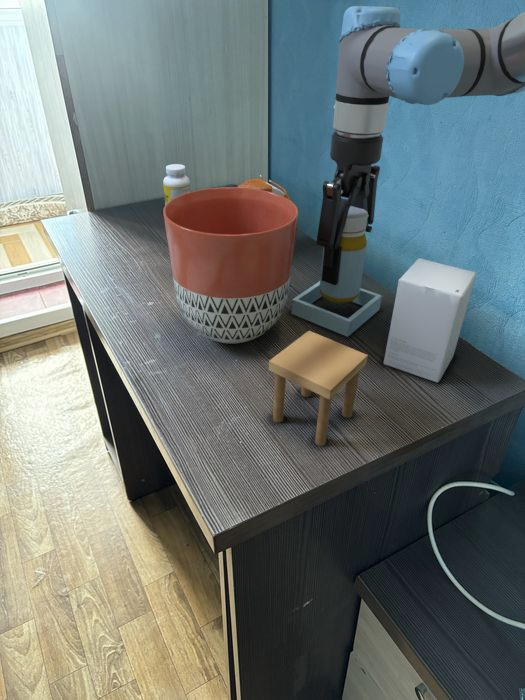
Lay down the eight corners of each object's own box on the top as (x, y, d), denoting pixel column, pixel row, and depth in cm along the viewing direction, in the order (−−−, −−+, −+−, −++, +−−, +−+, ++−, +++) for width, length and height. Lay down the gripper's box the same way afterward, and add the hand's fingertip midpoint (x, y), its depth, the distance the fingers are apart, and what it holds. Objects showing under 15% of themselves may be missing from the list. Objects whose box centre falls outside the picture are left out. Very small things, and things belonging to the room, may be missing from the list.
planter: (313, 330, 88) (324, 207, 76) (236, 383, 76) (235, 248, 64) (230, 292, 99) (228, 179, 86) (150, 334, 86) (134, 209, 74)
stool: (357, 413, 71) (368, 354, 66) (323, 450, 66) (330, 390, 60) (303, 387, 76) (308, 330, 70) (266, 420, 70) (268, 360, 64)
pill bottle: (172, 207, 135) (168, 161, 128) (195, 210, 133) (193, 164, 127) (161, 216, 129) (157, 169, 123) (185, 219, 128) (182, 171, 121)
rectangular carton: (455, 355, 83) (480, 271, 75) (438, 384, 77) (463, 296, 68) (401, 337, 87) (418, 255, 79) (381, 364, 81) (397, 278, 72)
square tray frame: (379, 309, 95) (382, 295, 93) (347, 337, 87) (349, 322, 85) (325, 290, 100) (327, 276, 98) (291, 313, 93) (292, 299, 91)
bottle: (311, 295, 91) (318, 212, 82) (333, 281, 95) (342, 201, 87) (344, 308, 87) (355, 223, 79) (366, 294, 92) (378, 211, 83)
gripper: (367, 118, 84) (351, 250, 97) (298, 140, 71) (290, 288, 84) (410, 125, 81) (387, 261, 94) (345, 149, 67) (329, 303, 80)
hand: (341, 273), depth 89 cm, fingers closed on bottle, 7 cm apart
